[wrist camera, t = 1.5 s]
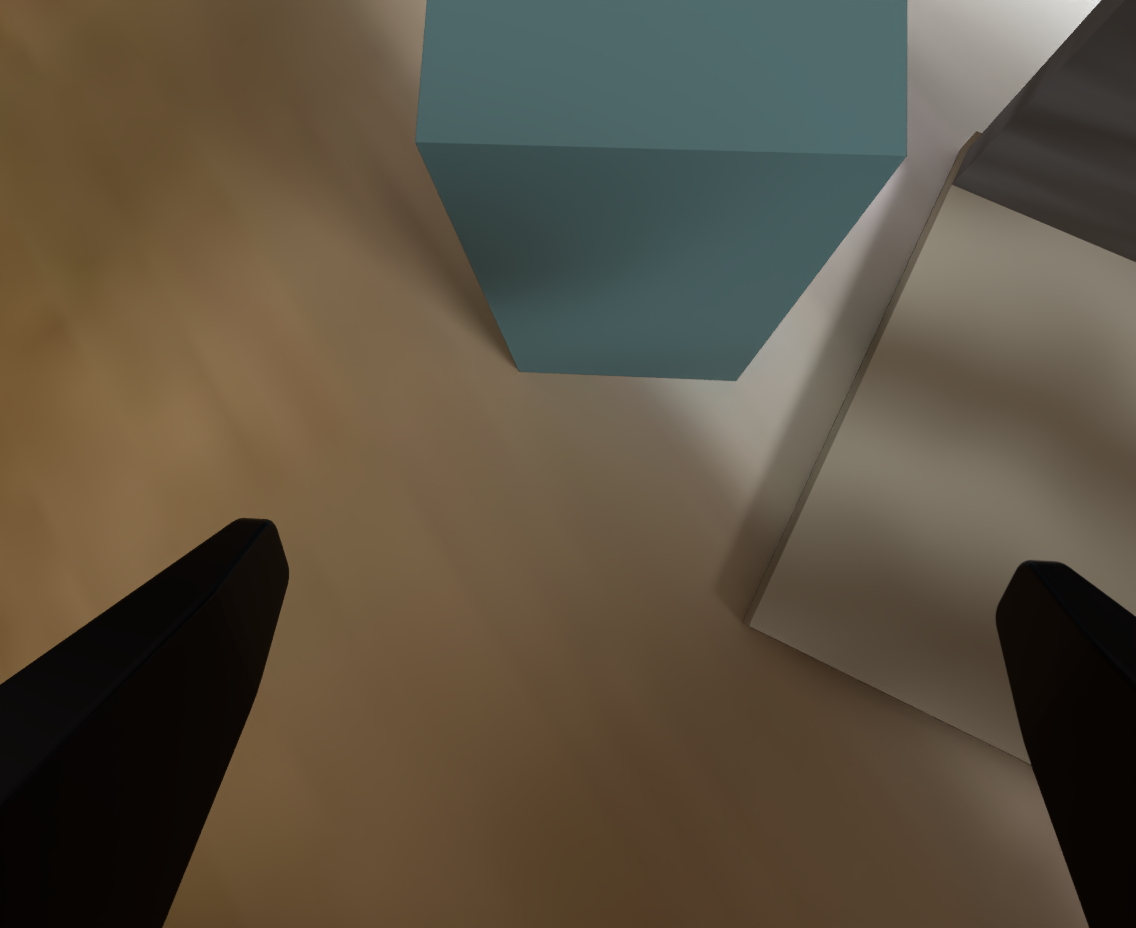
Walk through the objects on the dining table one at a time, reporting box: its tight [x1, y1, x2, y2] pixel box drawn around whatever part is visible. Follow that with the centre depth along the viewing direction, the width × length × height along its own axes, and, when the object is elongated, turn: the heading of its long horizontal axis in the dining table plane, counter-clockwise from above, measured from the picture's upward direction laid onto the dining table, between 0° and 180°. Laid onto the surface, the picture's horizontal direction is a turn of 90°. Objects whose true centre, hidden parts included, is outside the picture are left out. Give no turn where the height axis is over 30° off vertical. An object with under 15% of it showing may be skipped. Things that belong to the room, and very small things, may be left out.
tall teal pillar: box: [415, 0, 907, 381], centre depth 17 cm, size 4×6×13 cm, turn 87°
